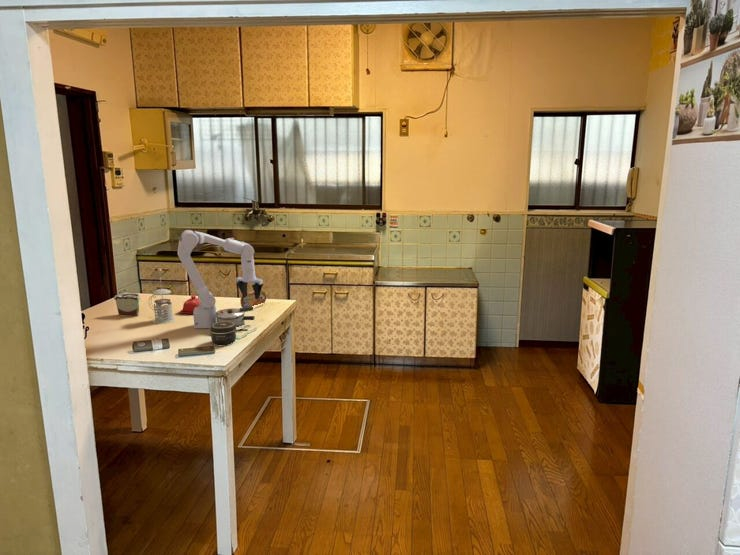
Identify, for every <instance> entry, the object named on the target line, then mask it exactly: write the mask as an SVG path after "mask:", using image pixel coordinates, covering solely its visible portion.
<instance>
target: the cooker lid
mask: <svg viewBox="0 0 740 555" xmlns="http://www.w3.org/2000/svg"><path fill="white" fill-rule="evenodd" d="M253 310H254V309H253V307H252V306H249V307H239V308H235V307H233V308H232V307H231V308H223V309H219V310H216V313H215V314H216V317H218V318H222V319H231V318H238V317H241V316H243V315H244V316H245V315H246V314H245V313H247V312H251V311H253Z"/></svg>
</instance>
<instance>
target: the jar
mask: <svg viewBox="0 0 740 555" xmlns="http://www.w3.org/2000/svg"><path fill="white" fill-rule="evenodd" d="M236 332H237V331H236V327H235V323H233V322H229V321H223V322H217V323H214V324H212V325H211V328H210V337H211V343H212V344H213V345H214V344H215V346H218V345H222V346H223V345H225V346H229V345H228V344H230V345H232V344H234V343H235V341H236V339H237V333H236ZM233 342H234V343H233ZM231 343H232V344H231ZM222 346H221V347H222ZM223 347H224V346H223Z"/></svg>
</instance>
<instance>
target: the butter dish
mask: <svg viewBox="0 0 740 555" xmlns="http://www.w3.org/2000/svg"><path fill="white" fill-rule="evenodd" d="M199 305H200V301H199V300H198V297H197V296H196V295H191V296H190V298H188V299H186V300H185V301H184V302H183V306H182V309H181V310H180V311H178V313H181V314H187V313H188V314H190V315H193V312H194V308H195V307H199ZM188 314H187V315H188Z"/></svg>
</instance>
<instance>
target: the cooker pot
mask: <svg viewBox="0 0 740 555" xmlns="http://www.w3.org/2000/svg"><path fill="white" fill-rule="evenodd" d="M254 320H255V316H254V315H253V316H252V315H245V314H244V315H243V316H241V317H238V318H231V319H222V318H218V317H216V321H217V322H223V321H229V322H233V323H235V327H239V326H242V325H245V321H254Z"/></svg>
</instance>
